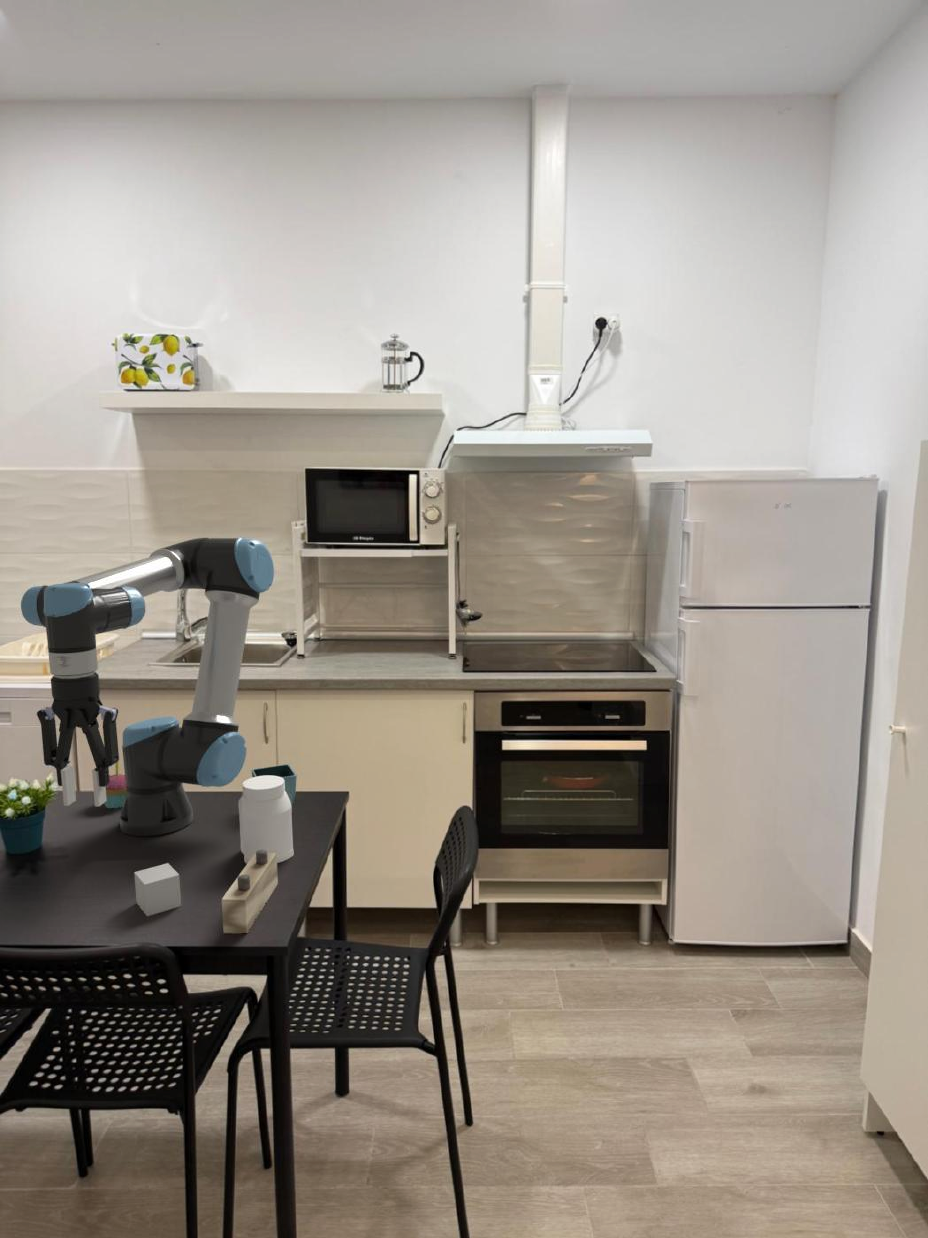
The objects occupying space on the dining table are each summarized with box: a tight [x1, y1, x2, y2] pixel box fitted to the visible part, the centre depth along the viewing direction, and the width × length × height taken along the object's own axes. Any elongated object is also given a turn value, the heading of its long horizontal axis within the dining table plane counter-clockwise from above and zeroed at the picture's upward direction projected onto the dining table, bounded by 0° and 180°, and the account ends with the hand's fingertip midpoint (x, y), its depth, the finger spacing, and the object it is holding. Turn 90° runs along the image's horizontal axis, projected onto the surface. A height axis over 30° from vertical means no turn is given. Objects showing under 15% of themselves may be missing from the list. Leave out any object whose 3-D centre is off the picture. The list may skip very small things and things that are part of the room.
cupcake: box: [103, 760, 126, 809], centre depth 199 cm, size 9×8×12 cm
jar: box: [237, 775, 295, 865], centre depth 172 cm, size 12×10×15 cm
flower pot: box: [251, 763, 298, 807], centre depth 196 cm, size 9×9×9 cm
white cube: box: [133, 862, 182, 917], centre depth 152 cm, size 6×6×6 cm
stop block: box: [221, 850, 279, 934], centre depth 151 cm, size 4×18×8 cm, turn 176°
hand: (85, 803), depth 151 cm, fingers open, 5 cm apart
